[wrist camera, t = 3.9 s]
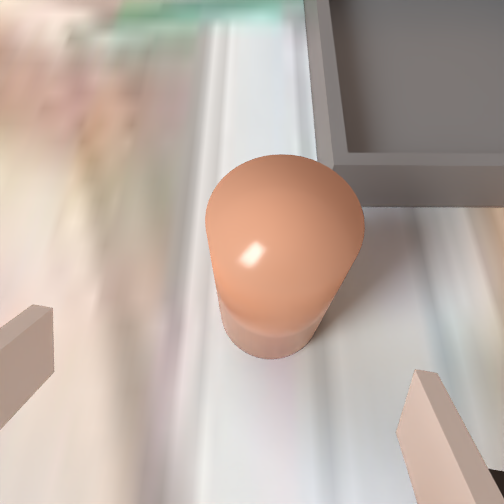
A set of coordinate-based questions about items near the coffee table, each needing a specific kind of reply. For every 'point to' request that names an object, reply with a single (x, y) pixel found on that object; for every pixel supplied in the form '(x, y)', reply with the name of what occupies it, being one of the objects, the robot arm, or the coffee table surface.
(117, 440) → the coffee table surface
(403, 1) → the bin
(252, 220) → the orange rounded cylinder
